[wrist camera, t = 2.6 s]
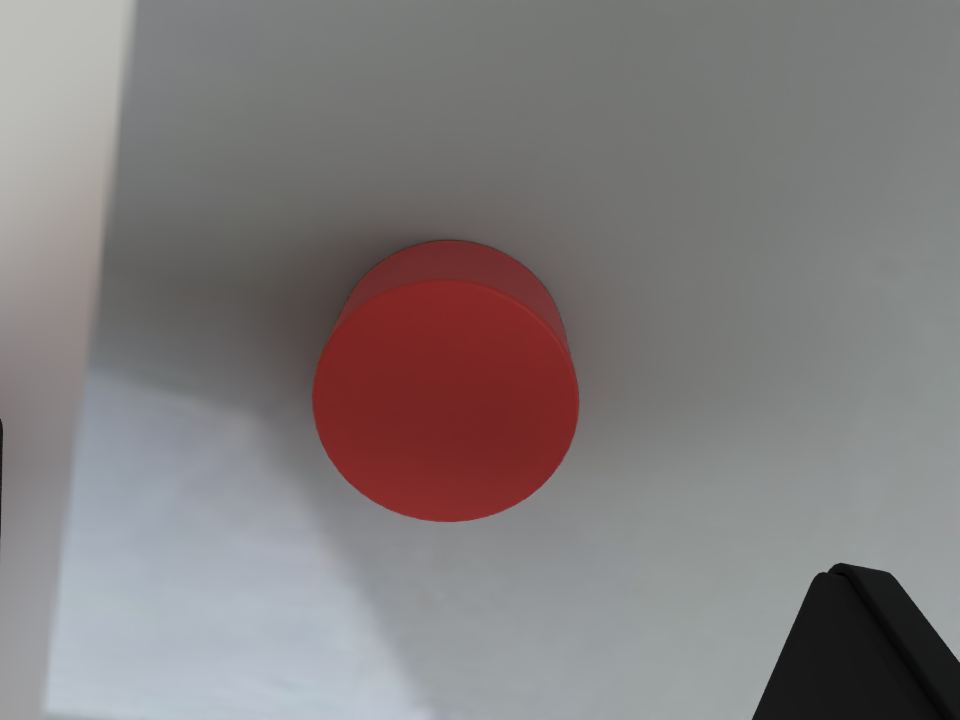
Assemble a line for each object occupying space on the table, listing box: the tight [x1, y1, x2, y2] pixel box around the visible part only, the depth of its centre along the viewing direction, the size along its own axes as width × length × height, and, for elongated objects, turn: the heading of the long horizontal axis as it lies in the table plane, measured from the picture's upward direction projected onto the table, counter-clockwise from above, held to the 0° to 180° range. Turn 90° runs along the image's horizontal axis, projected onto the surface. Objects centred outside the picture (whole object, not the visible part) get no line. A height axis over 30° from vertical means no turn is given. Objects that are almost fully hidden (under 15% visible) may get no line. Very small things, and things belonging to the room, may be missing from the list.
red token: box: [312, 241, 579, 522], centre depth 15 cm, size 4×4×3 cm
